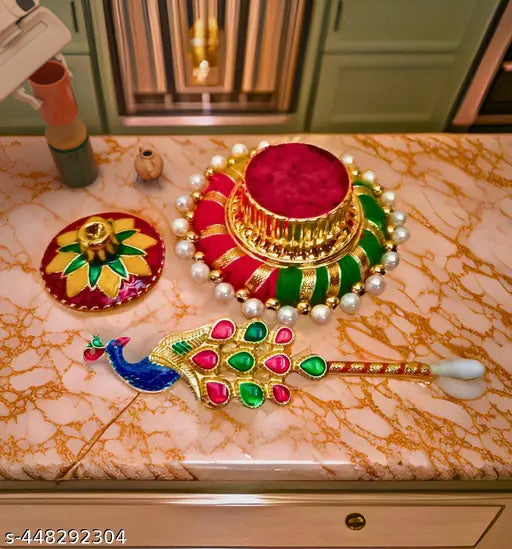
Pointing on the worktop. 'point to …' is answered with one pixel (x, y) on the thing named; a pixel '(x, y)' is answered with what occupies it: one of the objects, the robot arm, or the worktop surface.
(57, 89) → the cup
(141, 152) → the pot
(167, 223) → the worktop surface
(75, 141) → the jar
